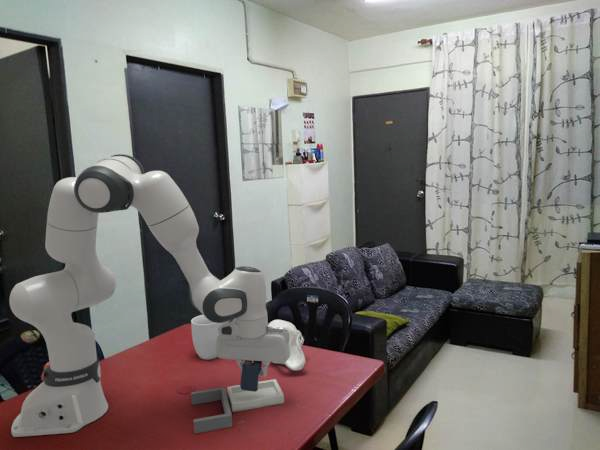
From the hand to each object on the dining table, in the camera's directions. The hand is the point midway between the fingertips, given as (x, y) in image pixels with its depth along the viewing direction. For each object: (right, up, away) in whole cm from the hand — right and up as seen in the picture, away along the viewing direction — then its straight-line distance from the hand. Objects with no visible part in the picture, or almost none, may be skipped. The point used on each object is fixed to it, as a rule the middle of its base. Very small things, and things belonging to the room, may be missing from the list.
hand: (254, 374), depth 125 cm
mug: (-19, -4, +32) cm, 37 cm away
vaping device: (-1, -4, +1) cm, 5 cm away
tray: (0, -7, +1) cm, 7 cm away
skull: (+8, -4, +23) cm, 24 cm away
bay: (-11, -8, -6) cm, 15 cm away
